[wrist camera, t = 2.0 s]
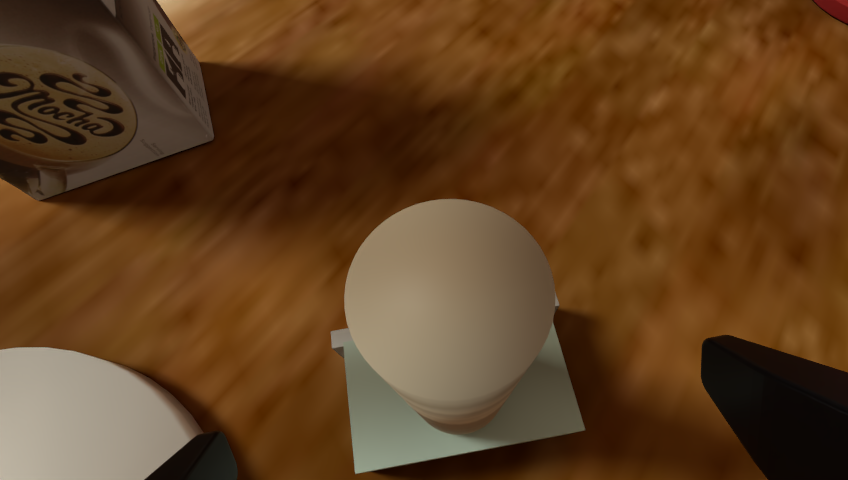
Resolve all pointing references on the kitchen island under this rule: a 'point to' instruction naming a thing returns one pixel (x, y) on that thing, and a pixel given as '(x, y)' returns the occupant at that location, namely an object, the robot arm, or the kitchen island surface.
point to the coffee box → (93, 91)
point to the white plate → (84, 418)
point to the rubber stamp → (451, 338)
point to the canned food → (835, 8)
